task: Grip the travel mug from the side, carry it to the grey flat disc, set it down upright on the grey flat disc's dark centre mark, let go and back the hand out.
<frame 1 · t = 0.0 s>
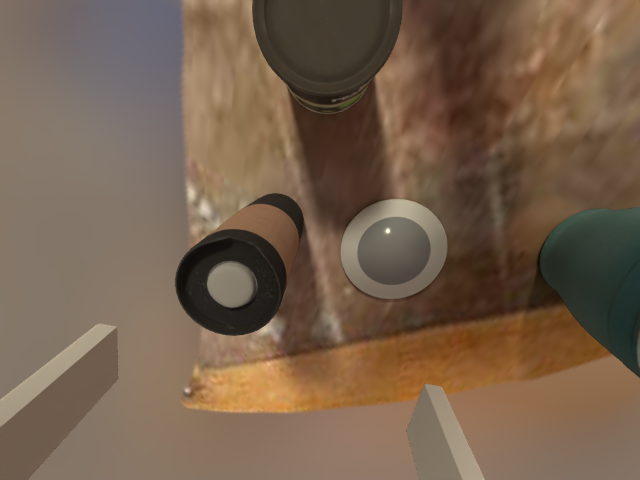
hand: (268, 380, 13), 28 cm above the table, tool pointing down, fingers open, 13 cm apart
travel mug: (277, 219, 40), on the table
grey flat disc: (392, 249, 40), on the table
flower pot: (584, 250, 40), on the table
coffee can: (327, 65, 34), on the table
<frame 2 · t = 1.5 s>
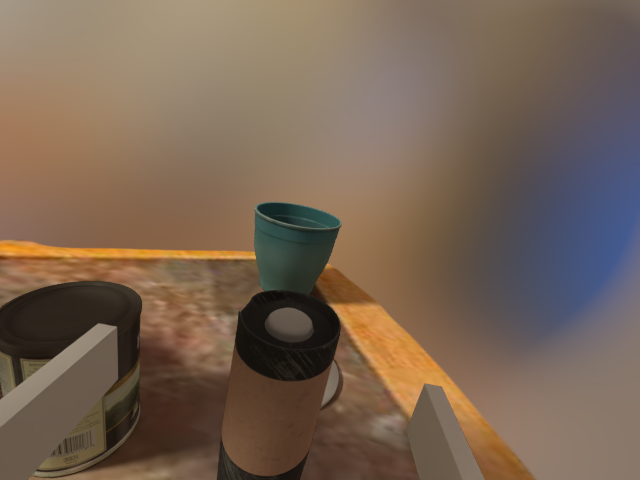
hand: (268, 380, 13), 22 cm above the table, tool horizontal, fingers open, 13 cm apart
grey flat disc: (290, 371, 43), on the table
flower pot: (285, 286, 67), on the table
coffee can: (82, 426, 31), on the table
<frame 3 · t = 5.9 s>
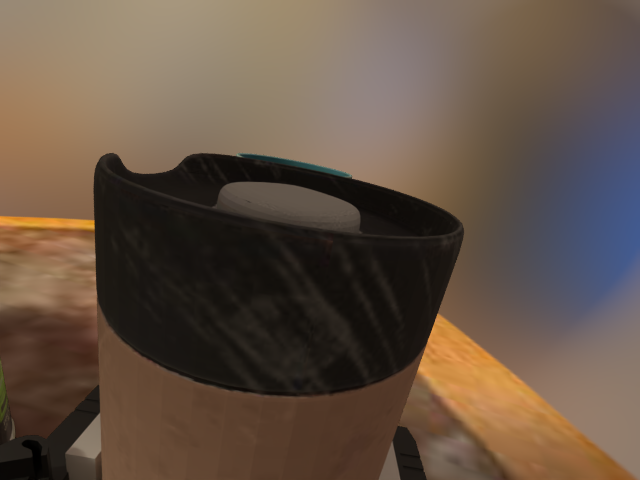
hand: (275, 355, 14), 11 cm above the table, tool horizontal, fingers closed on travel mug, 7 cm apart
flower pot: (279, 263, 52), on the table
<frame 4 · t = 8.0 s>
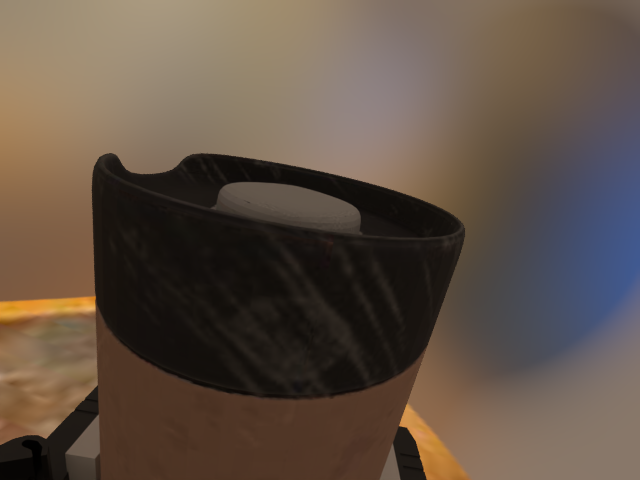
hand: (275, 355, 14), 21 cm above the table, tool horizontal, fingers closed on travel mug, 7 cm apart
when the fingers open (13 cm above the table, at t = 10.2 s): travel mug drops 1 cm, resting on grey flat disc.
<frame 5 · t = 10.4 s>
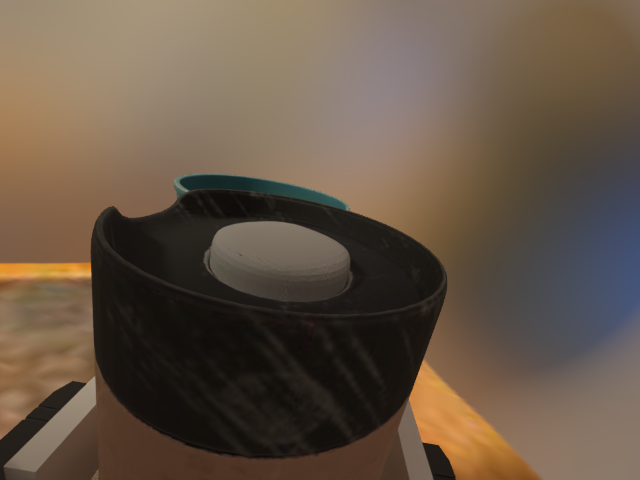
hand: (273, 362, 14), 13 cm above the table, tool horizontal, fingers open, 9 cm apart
flower pot: (248, 325, 37), on the table
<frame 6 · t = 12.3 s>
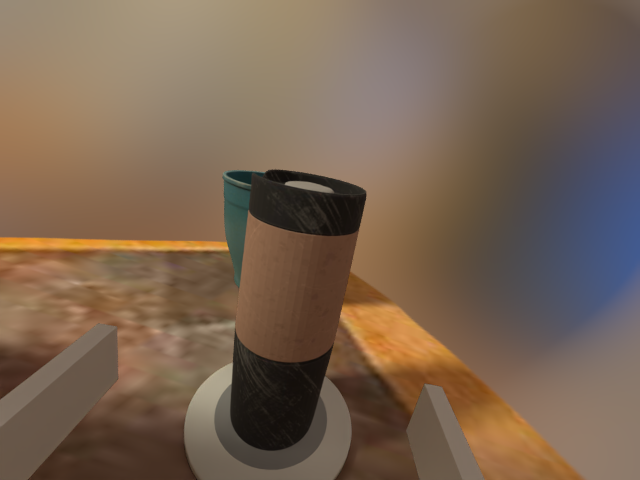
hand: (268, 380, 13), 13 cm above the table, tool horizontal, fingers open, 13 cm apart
travel mug: (272, 412, 26), point 1 cm above the table, touching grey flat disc
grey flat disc: (271, 418, 26), on the table
flower pot: (270, 283, 50), on the table
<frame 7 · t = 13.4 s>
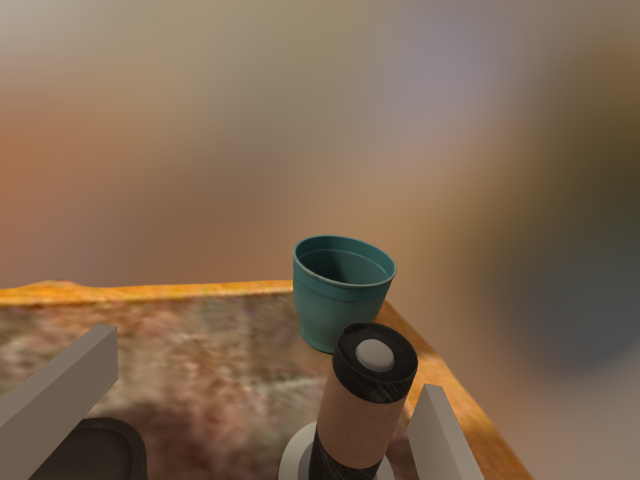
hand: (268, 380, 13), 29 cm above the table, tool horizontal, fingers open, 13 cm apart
travel mug: (337, 477, 35), point 1 cm above the table, touching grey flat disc
flower pot: (328, 332, 59), on the table
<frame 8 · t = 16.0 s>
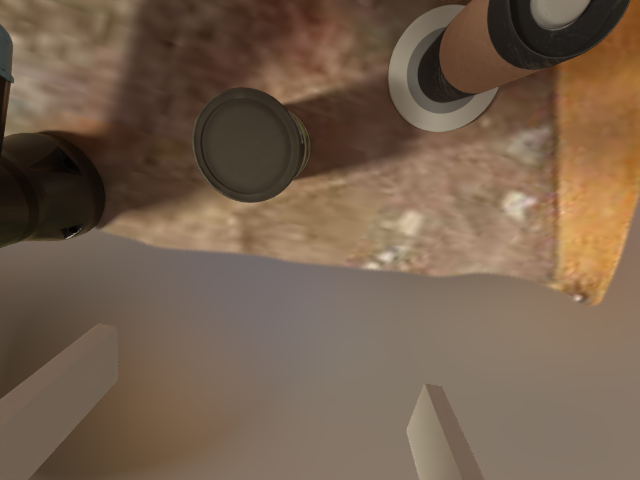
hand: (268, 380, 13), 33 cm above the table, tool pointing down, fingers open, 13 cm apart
travel mug: (445, 72, 37), point 1 cm above the table, touching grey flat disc
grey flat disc: (443, 73, 38), on the table
coffee can: (273, 146, 41), on the table
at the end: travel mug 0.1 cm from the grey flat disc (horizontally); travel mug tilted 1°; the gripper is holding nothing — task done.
